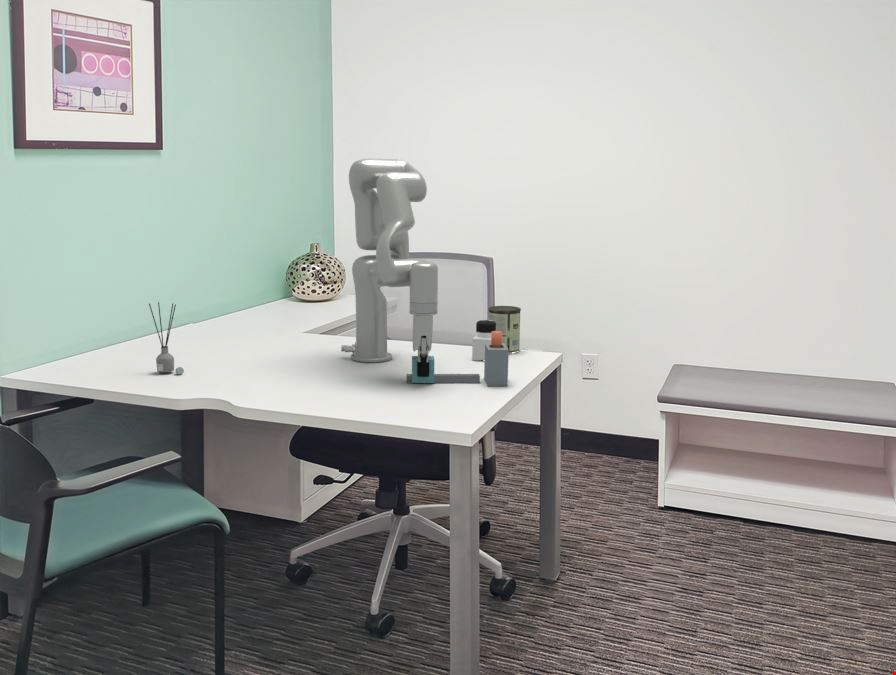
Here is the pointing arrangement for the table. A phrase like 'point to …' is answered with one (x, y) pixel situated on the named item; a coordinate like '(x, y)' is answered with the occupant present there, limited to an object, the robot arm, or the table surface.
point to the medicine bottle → (482, 338)
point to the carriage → (422, 379)
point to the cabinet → (496, 365)
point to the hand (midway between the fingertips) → (422, 373)
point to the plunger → (496, 339)
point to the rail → (451, 378)
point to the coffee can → (507, 325)
